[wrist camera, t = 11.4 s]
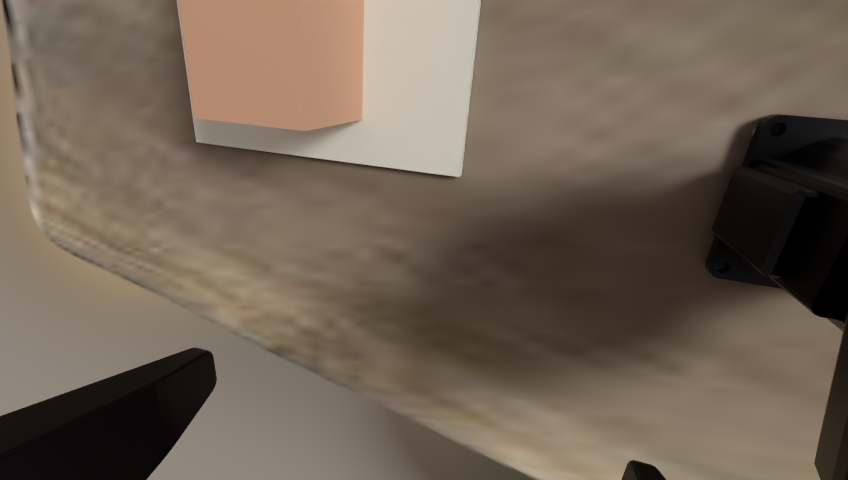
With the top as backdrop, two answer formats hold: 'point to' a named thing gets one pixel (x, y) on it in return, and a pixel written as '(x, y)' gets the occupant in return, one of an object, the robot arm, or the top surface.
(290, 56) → the tan rectangular block
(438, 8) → the mat
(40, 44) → the top surface
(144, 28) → the top surface
